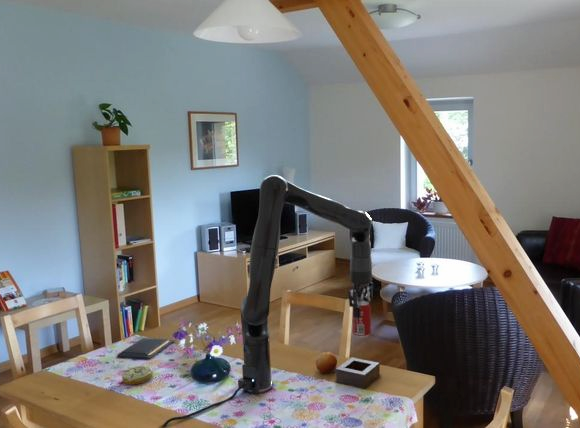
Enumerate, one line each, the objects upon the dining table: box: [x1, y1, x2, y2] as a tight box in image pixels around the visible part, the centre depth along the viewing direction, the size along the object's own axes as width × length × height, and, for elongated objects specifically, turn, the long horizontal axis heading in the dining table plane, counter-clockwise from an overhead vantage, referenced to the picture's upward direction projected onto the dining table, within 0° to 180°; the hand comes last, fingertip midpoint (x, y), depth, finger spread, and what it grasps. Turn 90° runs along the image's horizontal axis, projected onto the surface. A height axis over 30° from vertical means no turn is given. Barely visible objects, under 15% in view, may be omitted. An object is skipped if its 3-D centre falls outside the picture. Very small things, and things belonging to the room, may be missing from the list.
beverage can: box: [352, 300, 372, 339], centre depth 200 cm, size 6×6×12 cm
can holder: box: [335, 357, 381, 390], centre depth 205 cm, size 12×12×5 cm
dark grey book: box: [117, 337, 174, 360], centre depth 238 cm, size 20×2×15 cm
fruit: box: [315, 351, 338, 374], centre depth 212 cm, size 8×8×8 cm
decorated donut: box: [121, 364, 154, 385], centre depth 208 cm, size 10×11×4 cm
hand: (361, 314), depth 200 cm, fingers closed on beverage can, 6 cm apart
